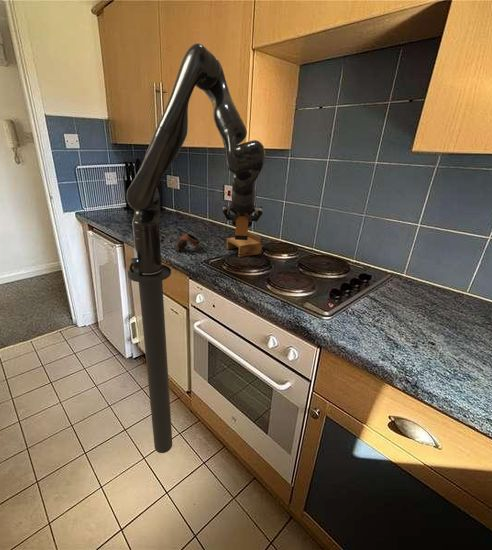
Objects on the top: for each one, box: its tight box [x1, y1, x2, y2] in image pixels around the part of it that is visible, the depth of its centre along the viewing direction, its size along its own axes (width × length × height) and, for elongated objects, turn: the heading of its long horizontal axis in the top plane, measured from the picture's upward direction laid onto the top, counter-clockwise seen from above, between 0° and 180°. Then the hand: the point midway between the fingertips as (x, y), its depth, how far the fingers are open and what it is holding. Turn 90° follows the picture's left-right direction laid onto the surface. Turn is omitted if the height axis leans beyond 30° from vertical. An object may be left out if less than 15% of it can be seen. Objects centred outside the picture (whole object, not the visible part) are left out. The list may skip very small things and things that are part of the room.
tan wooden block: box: [226, 231, 263, 258], centre depth 133 cm, size 11×12×7 cm
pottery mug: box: [175, 233, 200, 252], centre depth 132 cm, size 12×10×8 cm
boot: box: [234, 216, 249, 240], centre depth 111 cm, size 9×5×10 cm, turn 176°
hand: (241, 224), depth 111 cm, fingers closed on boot, 4 cm apart
